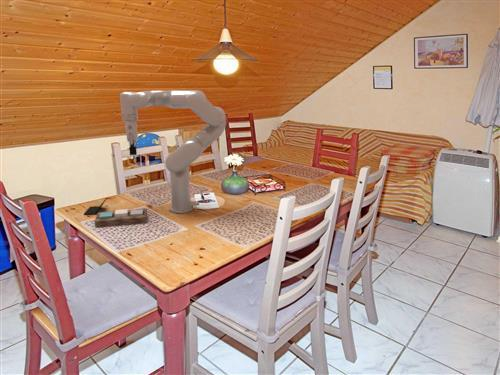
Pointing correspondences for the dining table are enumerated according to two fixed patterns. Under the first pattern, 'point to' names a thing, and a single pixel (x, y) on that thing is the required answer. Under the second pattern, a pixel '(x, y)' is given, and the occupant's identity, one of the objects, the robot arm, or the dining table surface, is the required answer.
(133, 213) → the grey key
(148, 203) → the dining table surface
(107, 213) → the teal square block
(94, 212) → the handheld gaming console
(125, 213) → the cream key
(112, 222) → the key panel
